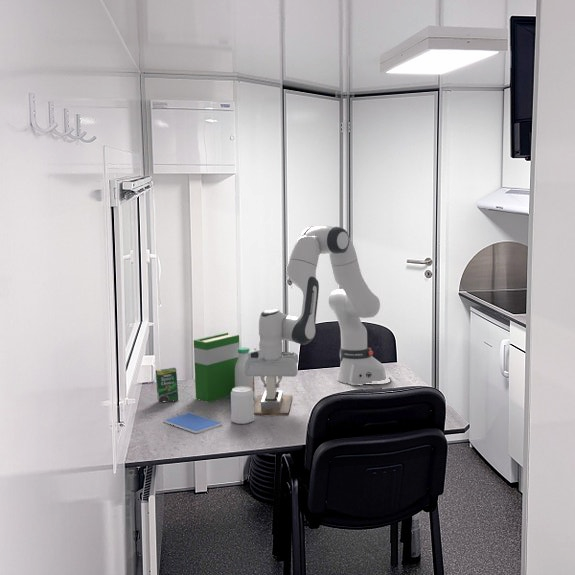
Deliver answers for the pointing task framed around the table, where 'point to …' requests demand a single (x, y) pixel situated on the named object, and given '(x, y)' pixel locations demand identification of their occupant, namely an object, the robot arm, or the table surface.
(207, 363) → the hardback book
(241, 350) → the milk bottle
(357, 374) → the robot arm
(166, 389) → the coffee box
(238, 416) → the beverage can
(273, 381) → the door panel
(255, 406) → the track board
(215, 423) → the tablet computer
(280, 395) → the bottom track
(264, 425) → the table surface
